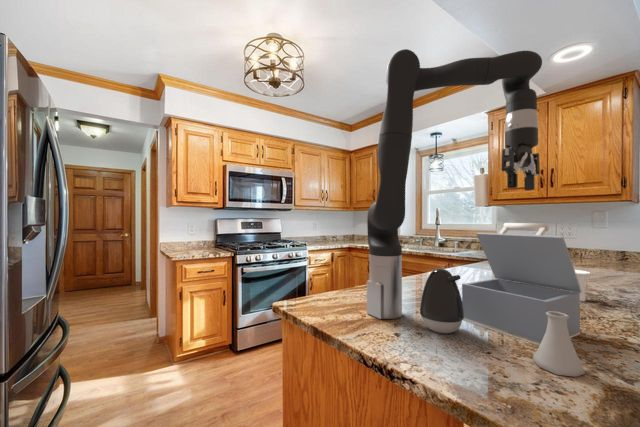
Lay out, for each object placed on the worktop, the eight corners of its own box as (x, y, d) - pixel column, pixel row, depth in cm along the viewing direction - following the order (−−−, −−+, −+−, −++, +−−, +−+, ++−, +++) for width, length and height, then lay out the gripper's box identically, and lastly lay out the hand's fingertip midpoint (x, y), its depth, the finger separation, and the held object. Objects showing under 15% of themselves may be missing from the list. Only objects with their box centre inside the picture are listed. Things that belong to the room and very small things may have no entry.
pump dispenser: (445, 341, 66) (444, 273, 67) (411, 326, 76) (410, 267, 76) (474, 333, 71) (473, 270, 71) (438, 320, 80) (438, 264, 80)
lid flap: (562, 237, 67) (572, 221, 69) (476, 233, 84) (487, 220, 87) (580, 292, 71) (590, 275, 74) (495, 278, 89) (505, 264, 91)
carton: (547, 347, 63) (546, 301, 63) (462, 320, 80) (462, 284, 81) (580, 333, 71) (579, 293, 71) (496, 311, 88) (495, 278, 88)
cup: (587, 298, 103) (586, 269, 104) (594, 304, 96) (593, 273, 96) (555, 294, 108) (554, 267, 108) (559, 300, 100) (558, 270, 101)
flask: (524, 359, 58) (523, 308, 58) (558, 357, 59) (558, 307, 59) (556, 379, 51) (556, 320, 51) (595, 377, 51) (594, 319, 52)
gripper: (521, 121, 74) (521, 186, 73) (550, 130, 80) (550, 189, 80) (491, 129, 80) (491, 188, 80) (520, 137, 87) (520, 191, 87)
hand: (521, 189), depth 80 cm, fingers open, 8 cm apart
